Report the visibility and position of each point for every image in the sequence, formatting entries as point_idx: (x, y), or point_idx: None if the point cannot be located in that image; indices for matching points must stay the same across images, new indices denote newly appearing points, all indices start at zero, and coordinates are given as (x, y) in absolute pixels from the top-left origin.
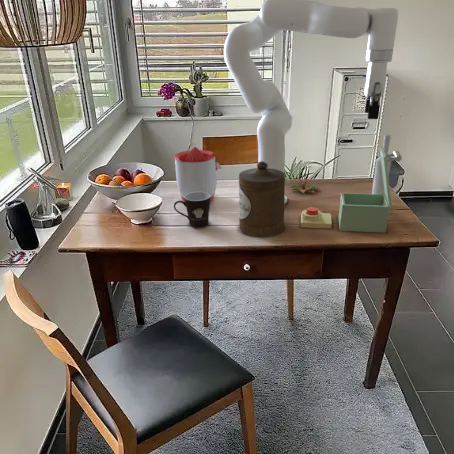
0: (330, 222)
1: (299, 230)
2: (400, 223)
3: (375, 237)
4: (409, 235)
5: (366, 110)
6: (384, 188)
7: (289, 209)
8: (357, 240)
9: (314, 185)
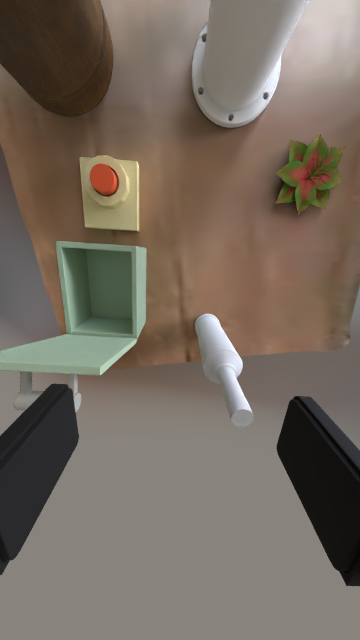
0: (91, 225)
1: (68, 158)
2: None
3: None
4: None
5: (297, 413)
6: (123, 339)
7: (181, 135)
8: (49, 270)
9: (324, 207)
